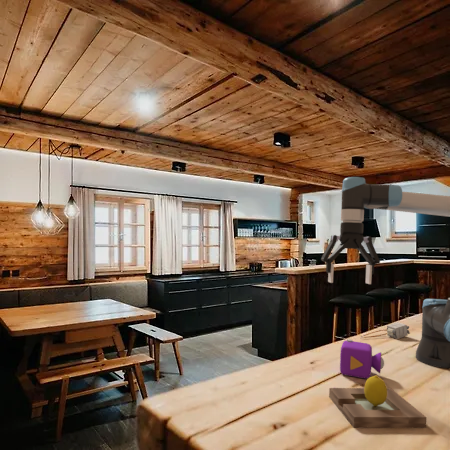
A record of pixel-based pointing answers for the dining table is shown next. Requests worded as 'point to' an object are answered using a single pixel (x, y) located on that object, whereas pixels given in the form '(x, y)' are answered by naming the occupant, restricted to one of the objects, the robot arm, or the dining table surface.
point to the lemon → (375, 390)
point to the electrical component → (394, 331)
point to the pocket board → (376, 410)
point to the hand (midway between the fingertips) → (349, 283)
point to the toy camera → (359, 359)
